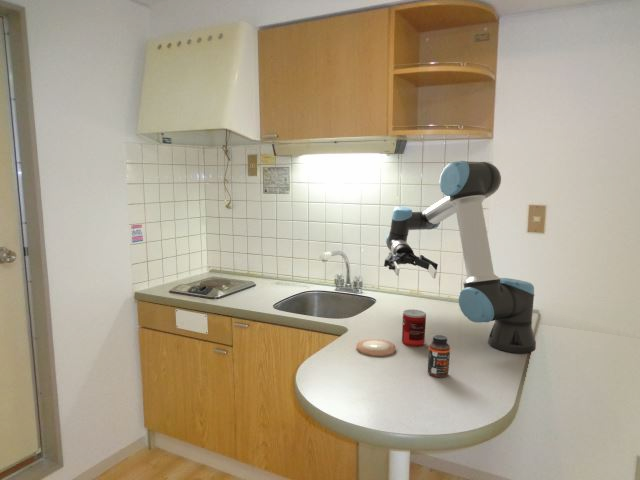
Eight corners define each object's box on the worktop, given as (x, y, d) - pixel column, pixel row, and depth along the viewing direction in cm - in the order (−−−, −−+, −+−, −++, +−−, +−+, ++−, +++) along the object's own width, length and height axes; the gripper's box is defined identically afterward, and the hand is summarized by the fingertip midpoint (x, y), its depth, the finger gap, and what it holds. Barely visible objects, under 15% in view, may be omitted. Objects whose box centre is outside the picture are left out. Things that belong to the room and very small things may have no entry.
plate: (403, 351, 154) (403, 347, 154) (372, 359, 147) (373, 355, 147) (378, 340, 165) (378, 336, 164) (348, 346, 158) (348, 342, 158)
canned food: (409, 337, 168) (411, 308, 166) (429, 343, 162) (430, 312, 160) (397, 342, 162) (398, 312, 161) (416, 348, 157) (418, 317, 155)
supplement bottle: (436, 379, 132) (438, 341, 131) (423, 371, 138) (425, 334, 136) (452, 376, 135) (454, 338, 134) (439, 368, 140) (441, 332, 139)
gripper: (430, 263, 189) (448, 285, 169) (370, 258, 186) (380, 280, 166) (434, 246, 186) (452, 266, 166) (373, 240, 184) (384, 260, 164)
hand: (416, 273), depth 166 cm, fingers open, 13 cm apart
